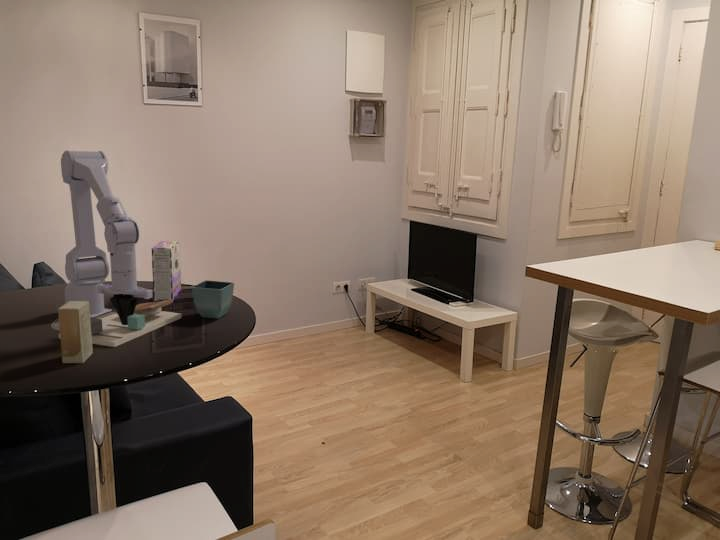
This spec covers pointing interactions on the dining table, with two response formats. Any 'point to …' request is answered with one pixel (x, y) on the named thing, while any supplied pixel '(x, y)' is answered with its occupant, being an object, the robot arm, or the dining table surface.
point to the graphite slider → (96, 326)
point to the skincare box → (75, 331)
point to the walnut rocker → (151, 306)
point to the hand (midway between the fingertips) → (126, 323)
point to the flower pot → (213, 298)
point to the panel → (120, 333)
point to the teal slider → (136, 321)
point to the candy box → (166, 270)
